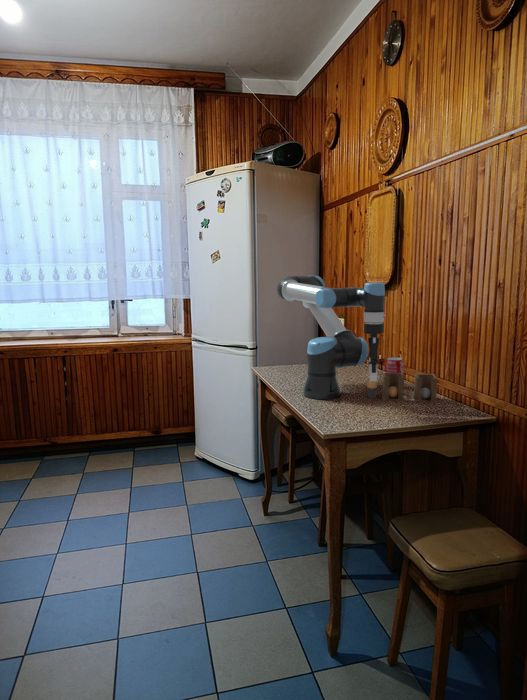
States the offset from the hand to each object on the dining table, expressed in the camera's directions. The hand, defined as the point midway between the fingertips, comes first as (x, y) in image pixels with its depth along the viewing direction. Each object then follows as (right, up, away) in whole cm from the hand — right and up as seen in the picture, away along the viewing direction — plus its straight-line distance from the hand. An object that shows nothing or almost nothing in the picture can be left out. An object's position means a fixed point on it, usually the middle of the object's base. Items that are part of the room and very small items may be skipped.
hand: (372, 377), depth 183 cm
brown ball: (0, -5, +1) cm, 5 cm away
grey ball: (+20, -8, -2) cm, 21 cm away
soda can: (+14, -6, +19) cm, 24 cm away
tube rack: (+14, -9, -1) cm, 16 cm away
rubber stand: (0, -9, +2) cm, 9 cm away
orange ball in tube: (+8, -8, 0) cm, 11 cm away
